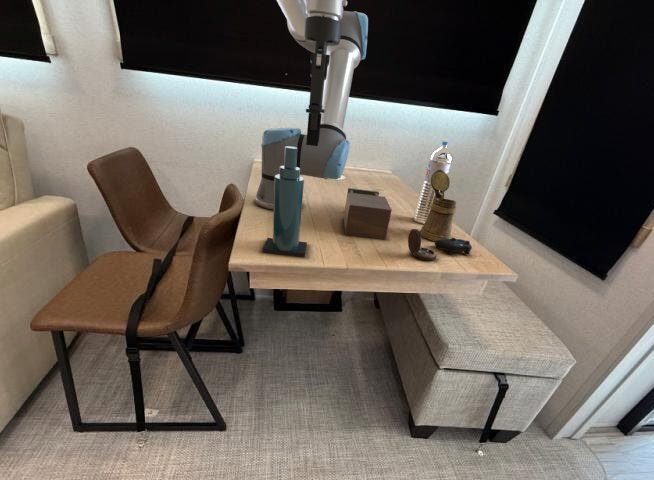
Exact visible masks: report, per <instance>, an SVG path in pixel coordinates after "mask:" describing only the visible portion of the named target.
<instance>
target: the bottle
mask: <svg viewBox="0 0 654 480" xmlns="http://www.w3.org/2000/svg"><path fill="white" fill-rule="evenodd" d="M297 149H298V148H296V147H290V146H286V147H285V158H284V166H280V174H278V175H275V184H274V210H273V215H272V218H273V219H272V238H273V242H272V245H273V247H274V248H276V249H278V250H282V251H293V250H296V249H298V247H299V241H300V238H301V237H300V236H301V223H302V213H303V199H304V188H305V178H304V177H303V176H301V175H300V168H298V167H296V164H297Z"/></svg>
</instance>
